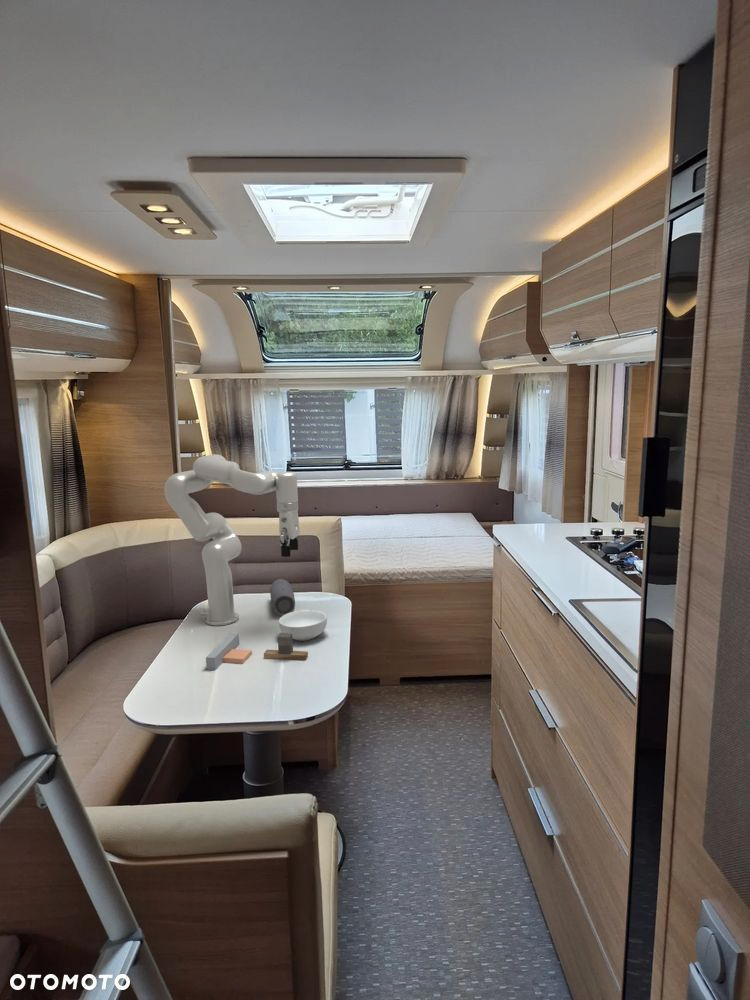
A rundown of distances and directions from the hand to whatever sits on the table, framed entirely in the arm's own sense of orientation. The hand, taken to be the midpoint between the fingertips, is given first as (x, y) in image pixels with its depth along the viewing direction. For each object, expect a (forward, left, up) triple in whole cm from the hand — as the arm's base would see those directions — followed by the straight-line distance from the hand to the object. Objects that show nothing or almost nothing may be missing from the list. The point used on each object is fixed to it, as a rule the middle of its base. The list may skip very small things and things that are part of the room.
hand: (290, 553), depth 218 cm
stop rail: (-16, -27, -28) cm, 42 cm away
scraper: (+5, -26, -28) cm, 39 cm away
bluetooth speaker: (-10, +19, -29) cm, 36 cm away
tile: (-11, -28, -29) cm, 42 cm away
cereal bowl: (+6, -8, -29) cm, 30 cm away
